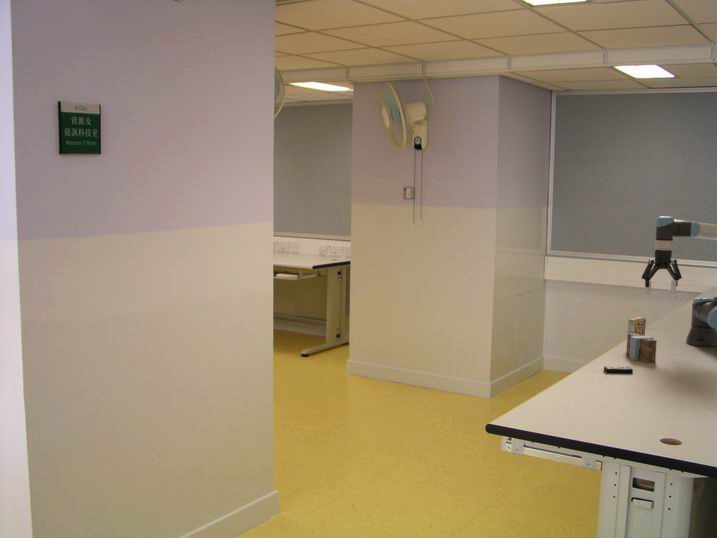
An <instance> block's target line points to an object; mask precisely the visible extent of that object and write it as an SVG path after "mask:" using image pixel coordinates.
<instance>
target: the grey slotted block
mask: <svg viewBox="0 0 717 538" xmlns="http://www.w3.org/2000/svg"><path fill="white" fill-rule="evenodd" d="M641 338H651V339H654V337H653V336H649V335H645V336H631V339H630V356H628V357H629V360H630V359H631V360H634V361H639V360H638V359H639V349H641Z"/></svg>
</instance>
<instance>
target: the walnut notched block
mask: <svg viewBox="0 0 717 538" xmlns="http://www.w3.org/2000/svg"><path fill="white" fill-rule="evenodd" d="M627 335H628V337H627V338H626V356H628V357H629V356H630V339H631V336H642V335H639V334H636V333H631V334H628V333H627ZM657 341H658V340H656V339H654V338H653V339H651V338H641V349H639V359H638V360H637V361H641V362H644V363H646V364H652V363H653V364H654V363H656V359H657V357H656V356H657V343H658V342H657Z"/></svg>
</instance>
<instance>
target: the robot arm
mask: <svg viewBox="0 0 717 538" xmlns="http://www.w3.org/2000/svg"><path fill="white" fill-rule="evenodd" d="M681 237H682V238H696V239H702V240H710V241H711V240H712V241H717V224H713V223H707V222H705V223H704V222H698V221H696V220H695V221H693V220H683V219H682V220H681V219H676V218H675V217H673V216H665V215H664V216H663V215H662V216H658V217H657V218H656V225H655V245H654V248H655V249H654V259H651V258H649V259H648V262H647V265H646V268H645V269H644V271H643V273H642V275H641V279H642V280H644V281H645V282H644V287H645V294H646V295H652V278H653V277H654V276H655V274H656V273H657V272H658V271H660V270H666V271H667V273H669V275H670V276H671V278H672V279H671V281H670V282H671V283H670V294H673V295H674V294H675V295H676V293H677V287H678V282H679V281H680V279H681V280H682V278H683V276H682V274H681V271H680V268H679V266H678V260H677V259H675V258H672V256H673V255H672V254H673V252H672V251H673V250H672V249H673V241H674V239H673V238H681ZM691 305H692V306H691V307H692V308H691V320H690V321H691V322H690V323H691V325H690V329H689V331H688V333H687V336H686V341H685V343H686V344H688V345H692V346H697V347H705V348H713V347H714V348H715V347H717V295H715V296H714V298H713V297H694V298H693V299H692V304H691Z"/></svg>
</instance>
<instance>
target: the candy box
mask: <svg viewBox="0 0 717 538" xmlns="http://www.w3.org/2000/svg"><path fill="white" fill-rule="evenodd" d="M646 320H647V318H645V317H640V316H637V317H632V318H628V325H627V337H628V334H631V333H636V334H639V335H642V336H646V323H647V321H646Z"/></svg>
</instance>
